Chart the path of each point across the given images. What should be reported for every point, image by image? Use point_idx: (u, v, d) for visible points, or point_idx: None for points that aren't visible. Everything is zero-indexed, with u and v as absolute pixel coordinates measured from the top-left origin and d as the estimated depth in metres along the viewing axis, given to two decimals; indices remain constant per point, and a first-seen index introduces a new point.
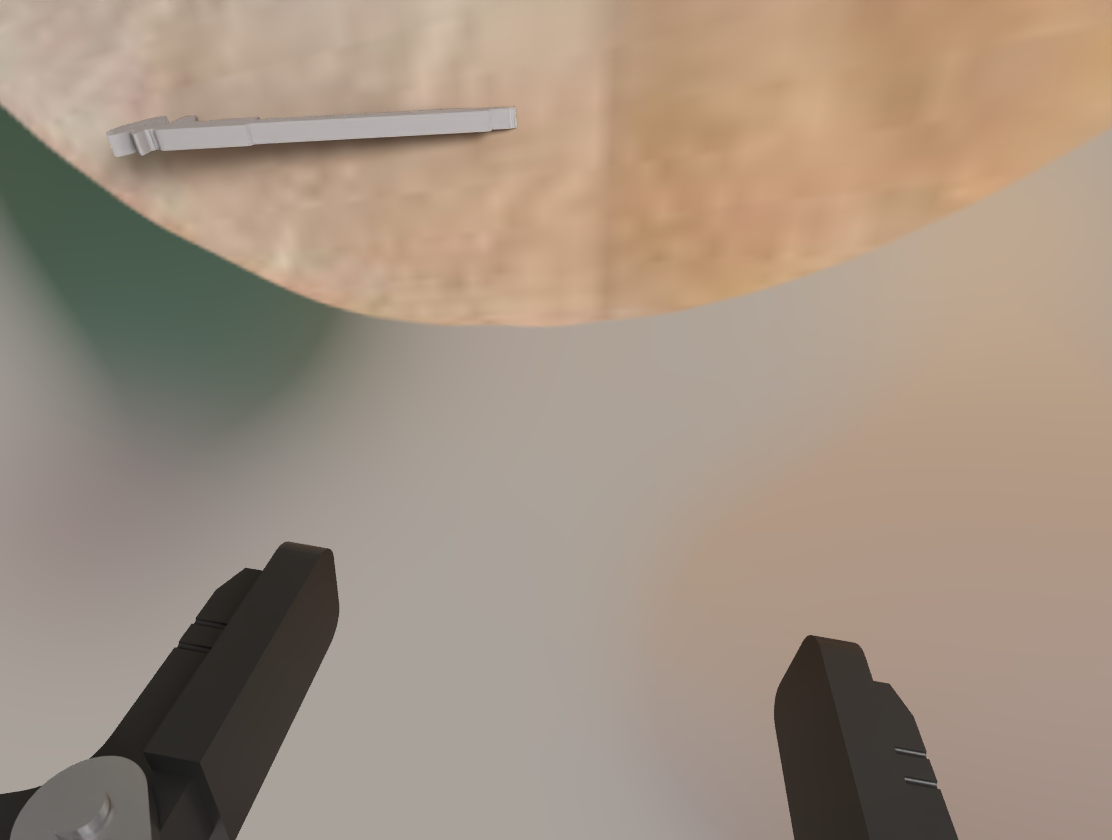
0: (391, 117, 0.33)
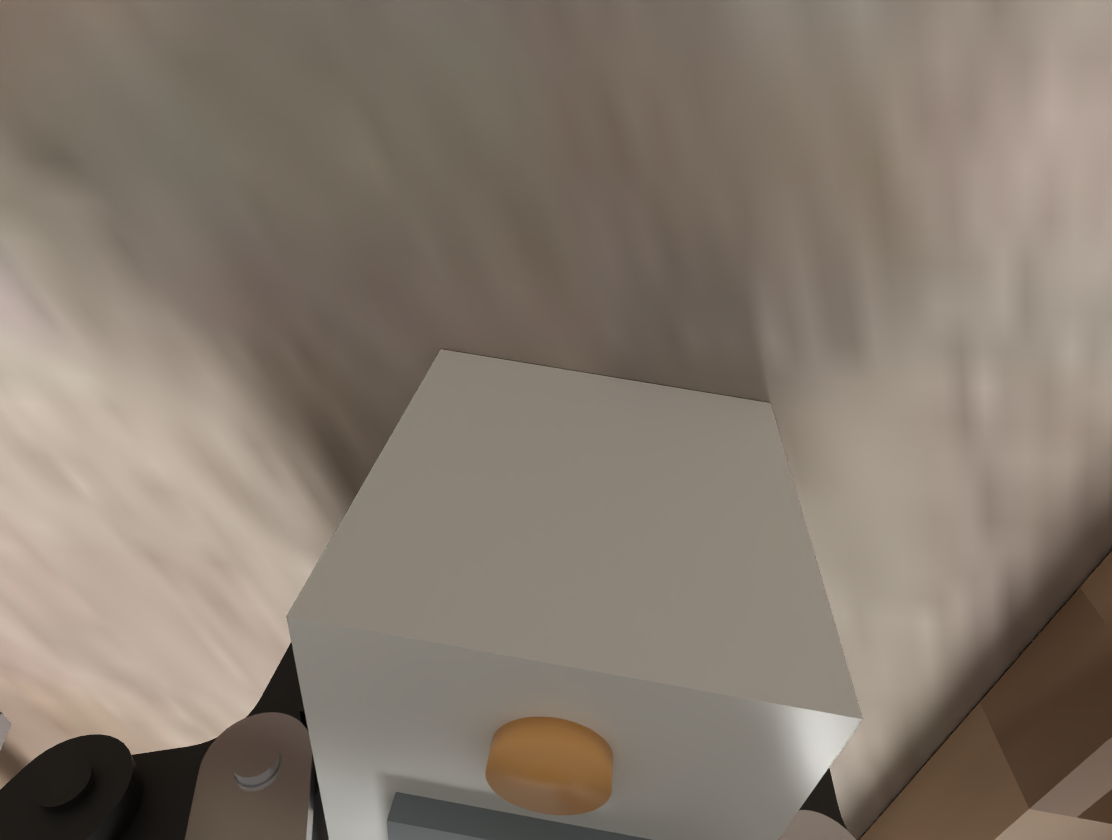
0: None
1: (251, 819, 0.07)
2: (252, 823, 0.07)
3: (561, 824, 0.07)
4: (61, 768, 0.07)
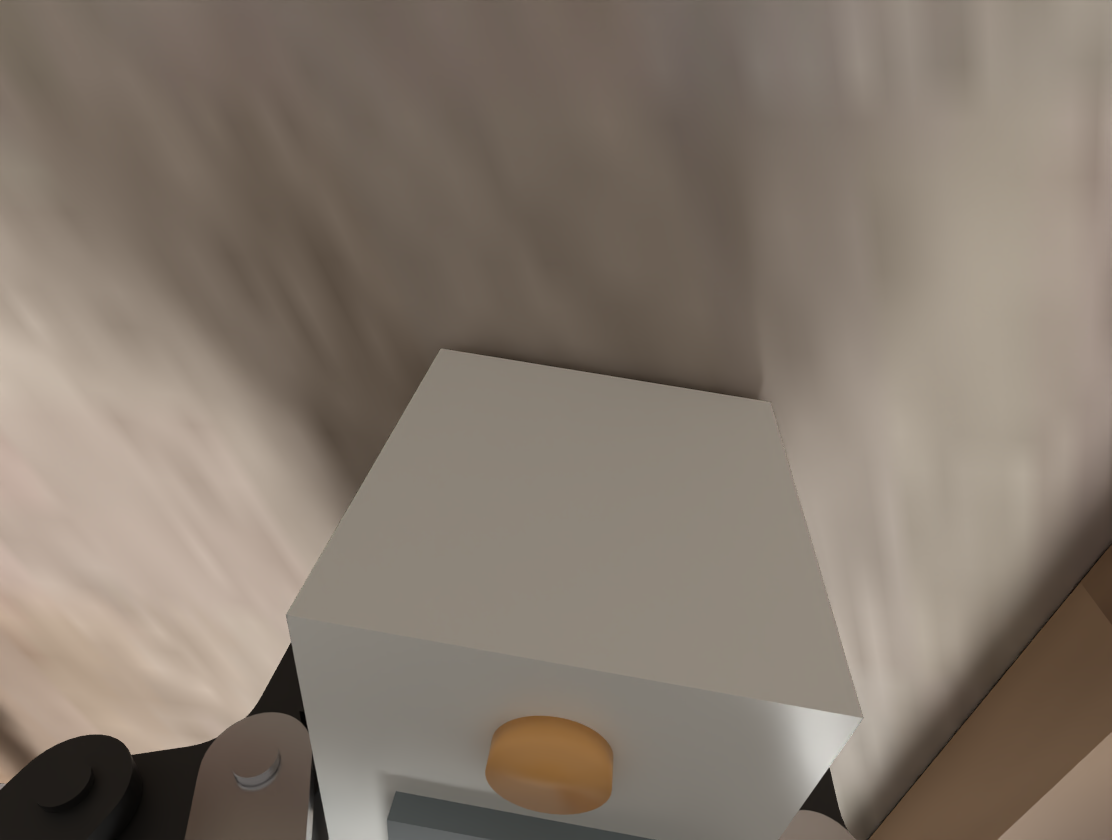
0: None
1: (250, 819, 0.07)
2: (252, 823, 0.07)
3: (561, 824, 0.07)
4: (61, 768, 0.07)
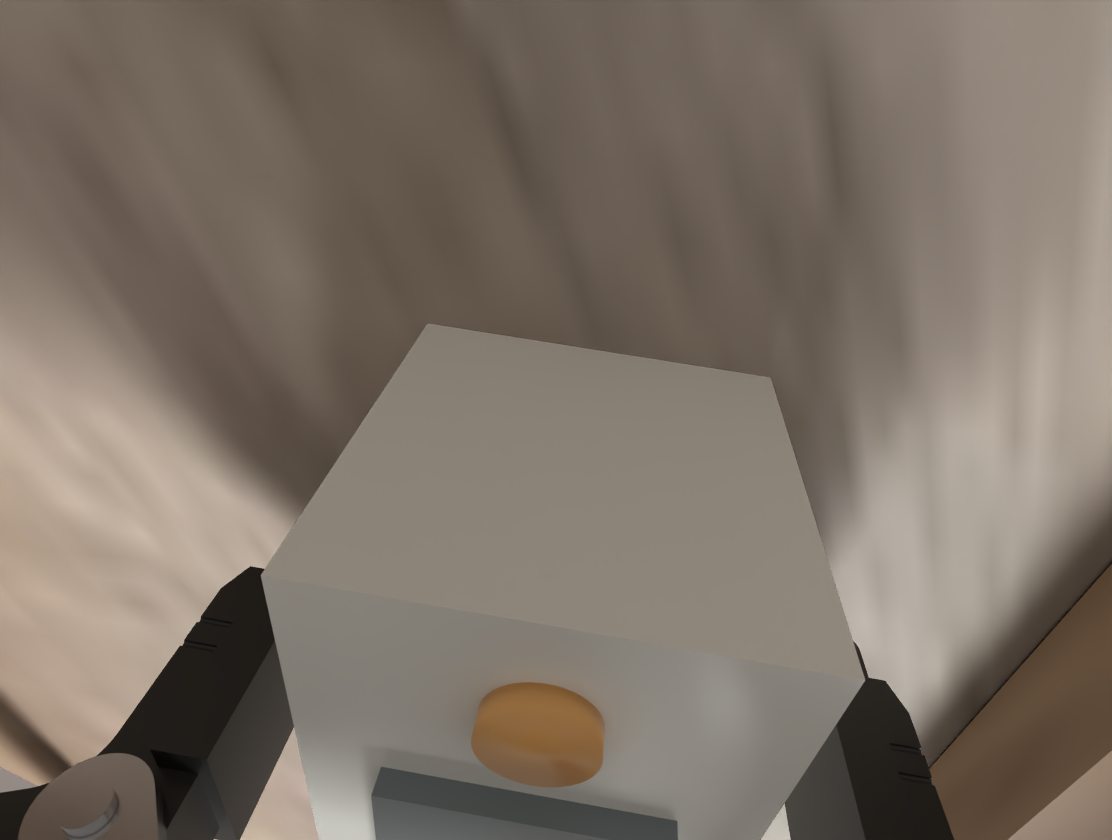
0: None
1: None
2: None
3: (553, 801, 0.07)
4: None
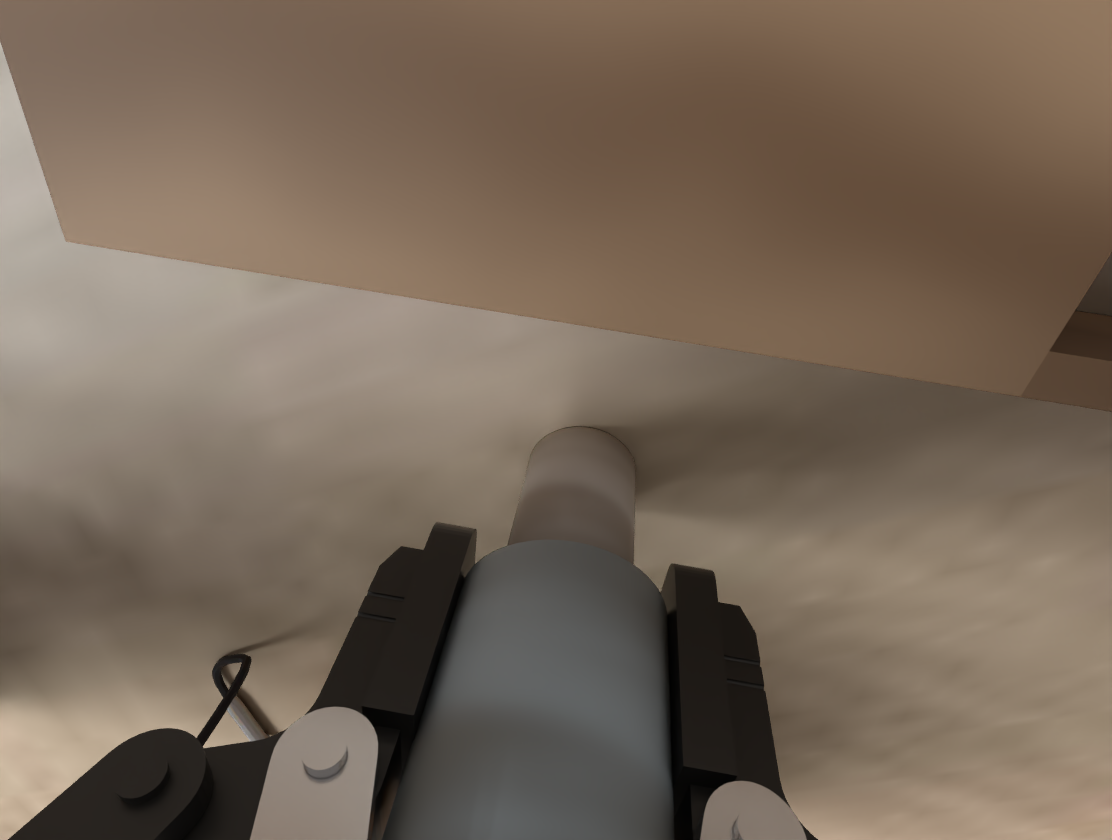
0: None
1: (315, 812, 0.07)
2: (326, 816, 0.07)
3: None
4: (140, 760, 0.07)
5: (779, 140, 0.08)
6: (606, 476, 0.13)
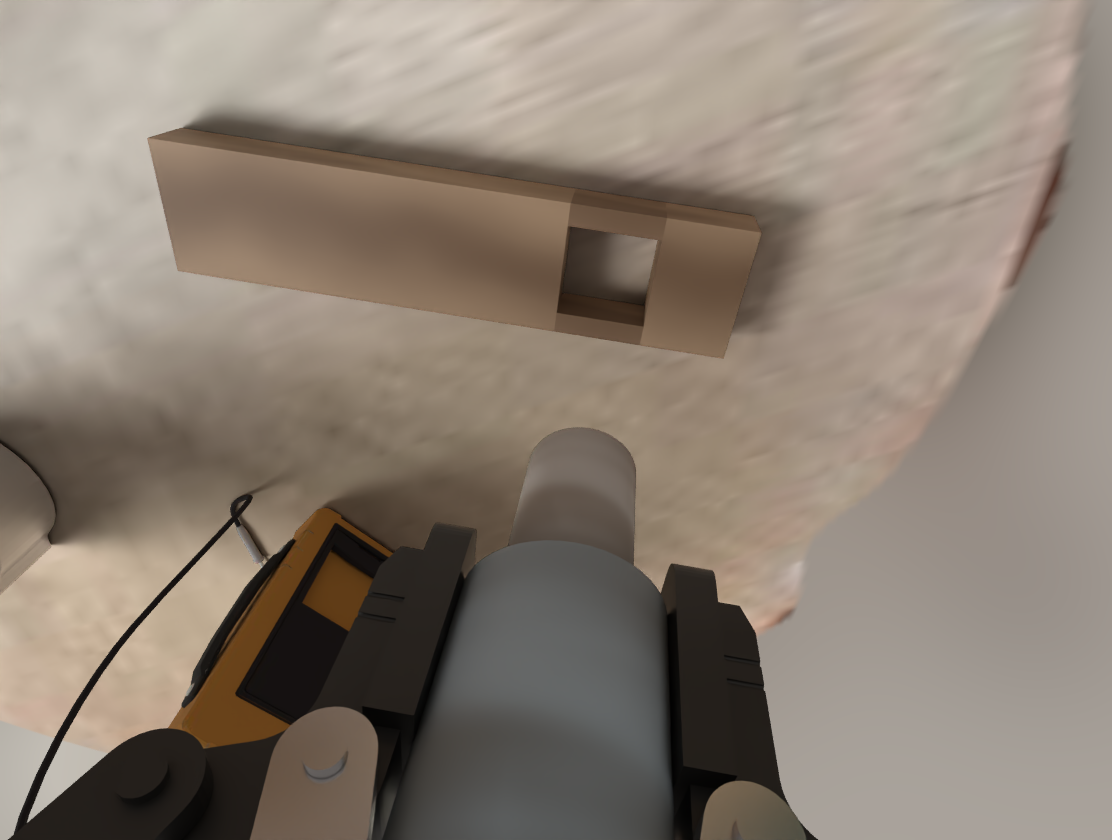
0: None
1: (315, 812, 0.07)
2: (326, 815, 0.07)
3: None
4: (141, 759, 0.07)
5: (438, 237, 0.24)
6: (606, 477, 0.13)
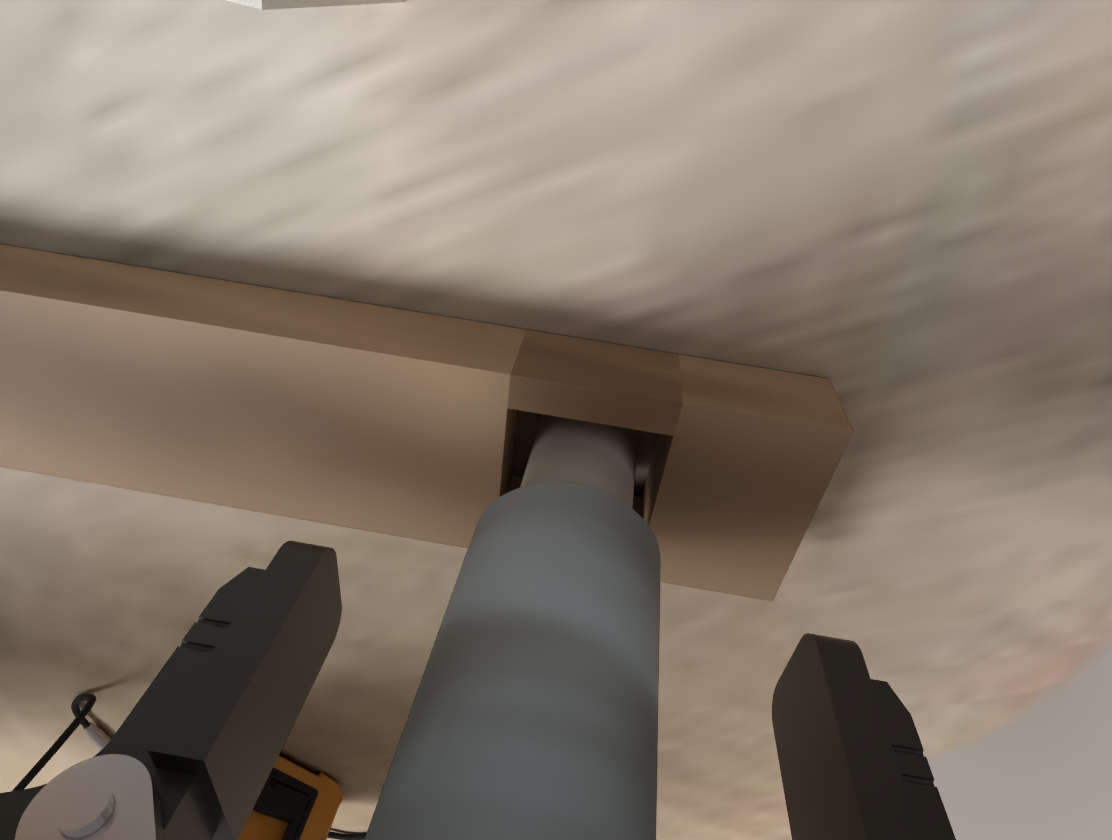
0: None
1: None
2: None
3: None
4: None
5: (289, 416, 0.14)
6: (609, 435, 0.14)
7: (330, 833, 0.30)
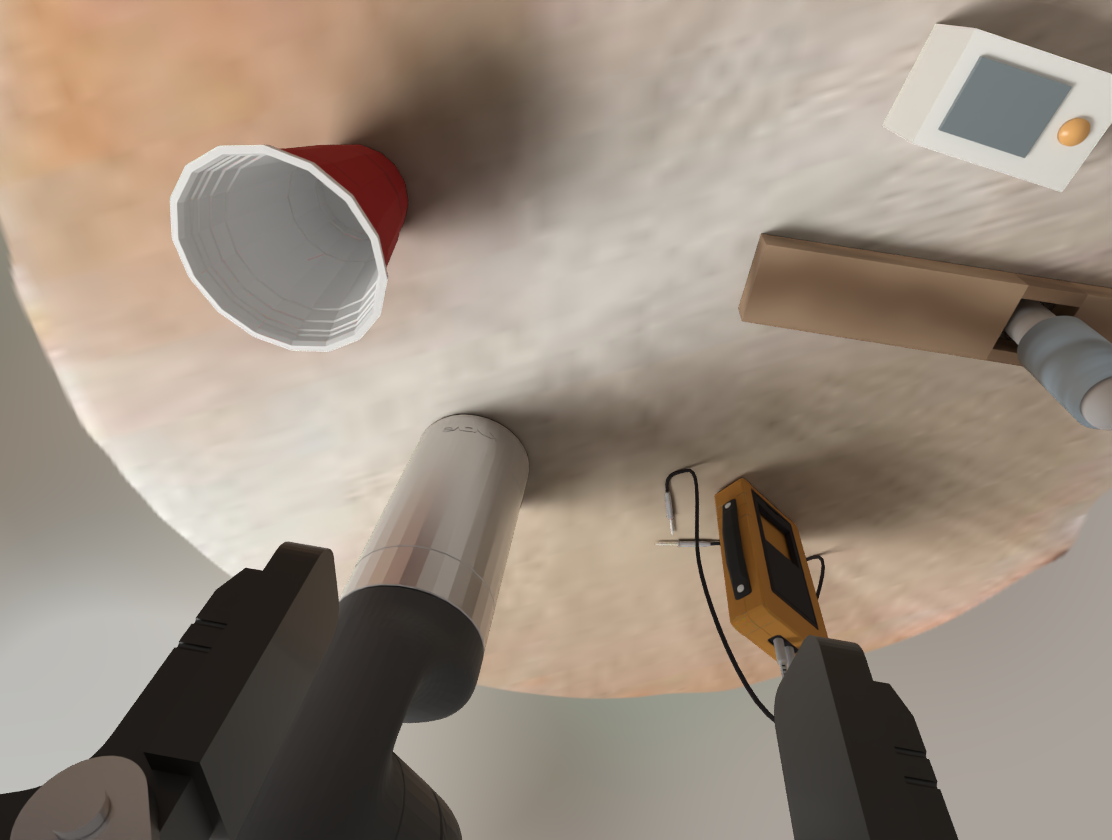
0: None
1: None
2: None
3: (1040, 128, 0.30)
4: None
5: (932, 303, 0.38)
6: (1047, 309, 0.38)
7: None
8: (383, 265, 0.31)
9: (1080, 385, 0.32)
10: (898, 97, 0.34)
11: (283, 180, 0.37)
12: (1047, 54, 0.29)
